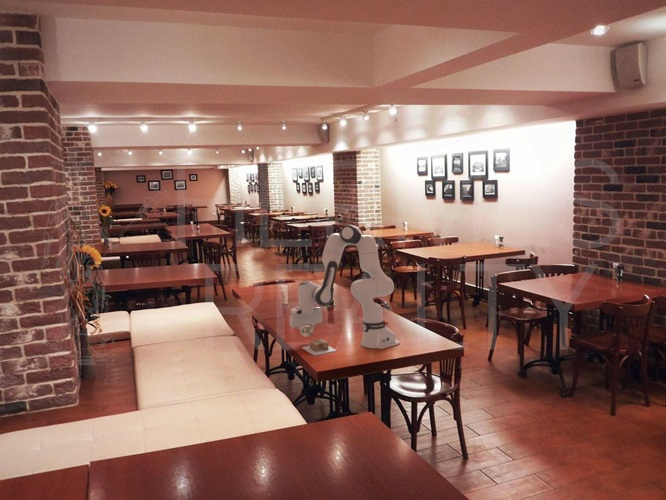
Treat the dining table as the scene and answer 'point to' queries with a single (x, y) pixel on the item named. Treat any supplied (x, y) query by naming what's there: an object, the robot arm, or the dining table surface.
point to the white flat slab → (318, 351)
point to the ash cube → (307, 331)
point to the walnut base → (319, 345)
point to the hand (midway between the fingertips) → (306, 332)
